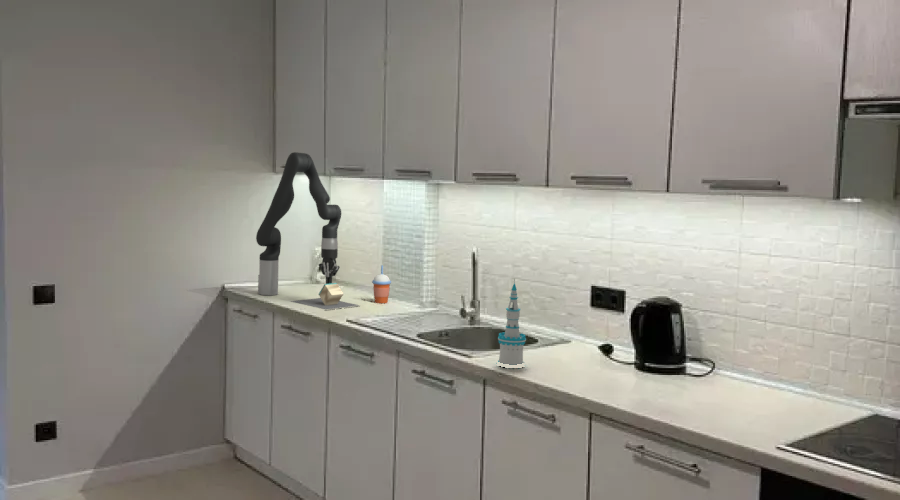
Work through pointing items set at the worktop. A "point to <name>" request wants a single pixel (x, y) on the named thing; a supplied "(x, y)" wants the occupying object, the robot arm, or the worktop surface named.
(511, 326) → the model tower
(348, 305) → the rubber mat
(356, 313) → the worktop surface
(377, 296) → the cup with straw
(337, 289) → the birch cube
